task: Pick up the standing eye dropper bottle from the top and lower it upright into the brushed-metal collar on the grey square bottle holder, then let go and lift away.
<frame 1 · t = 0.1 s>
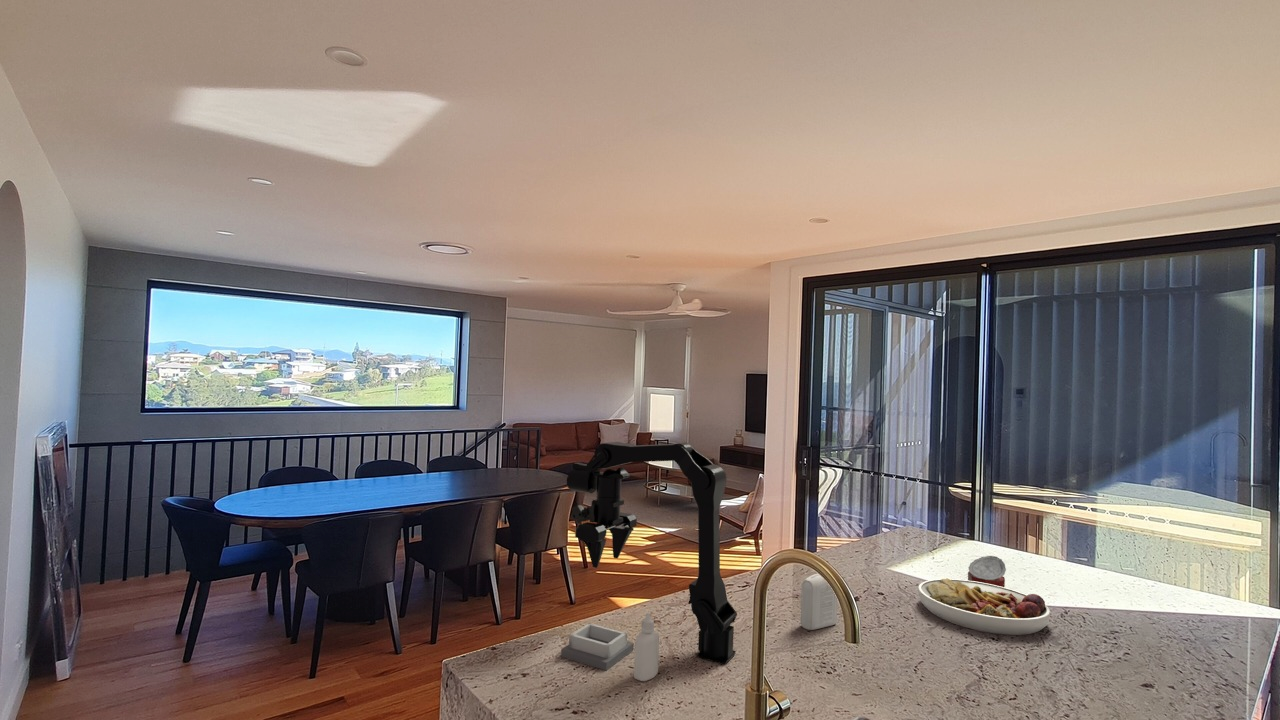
hand: (605, 562, 142), 15 cm above the counter, tool pointing down, fingers open, 9 cm apart
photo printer: (818, 626, 147), on the counter
grey square bottle holder: (597, 653, 127), on the counter
eye dropper bottle: (645, 676, 118), on the counter
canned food: (986, 585, 185), on the counter
bowl: (980, 617, 159), on the counter
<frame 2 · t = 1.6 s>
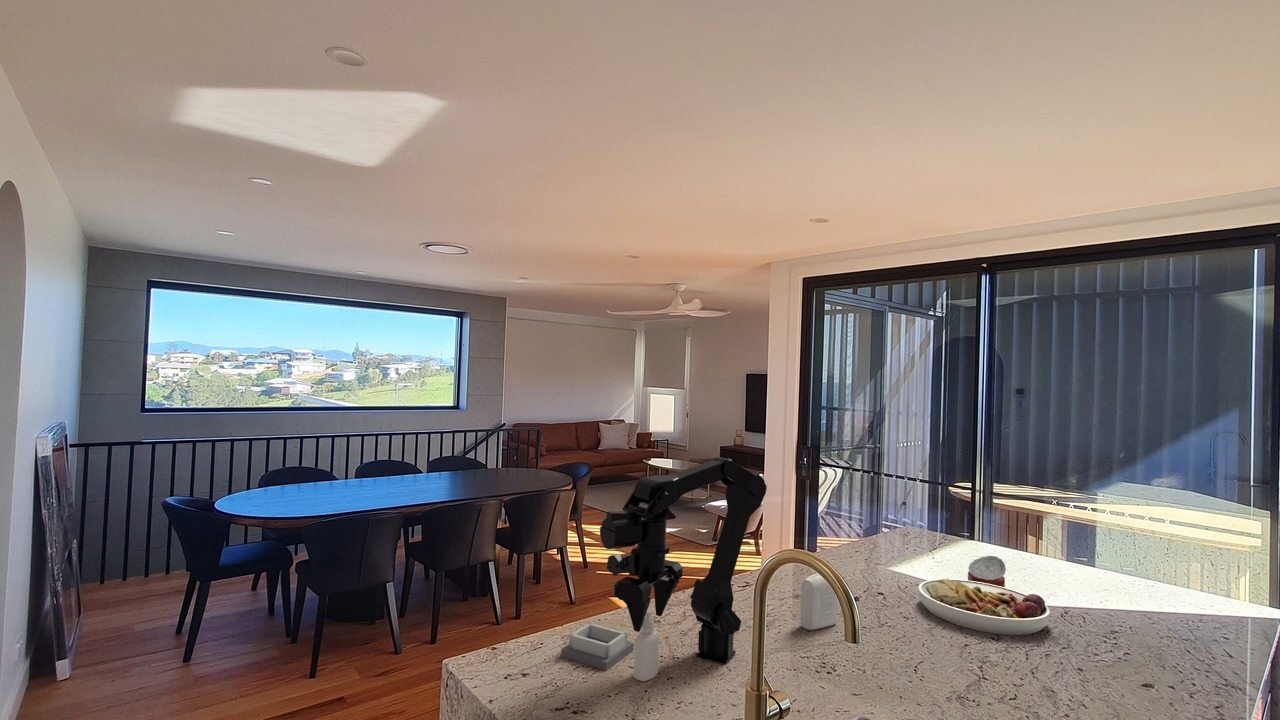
hand: (648, 623, 119), 10 cm above the counter, tool pointing down, fingers open, 9 cm apart
nothing on the counter moved.
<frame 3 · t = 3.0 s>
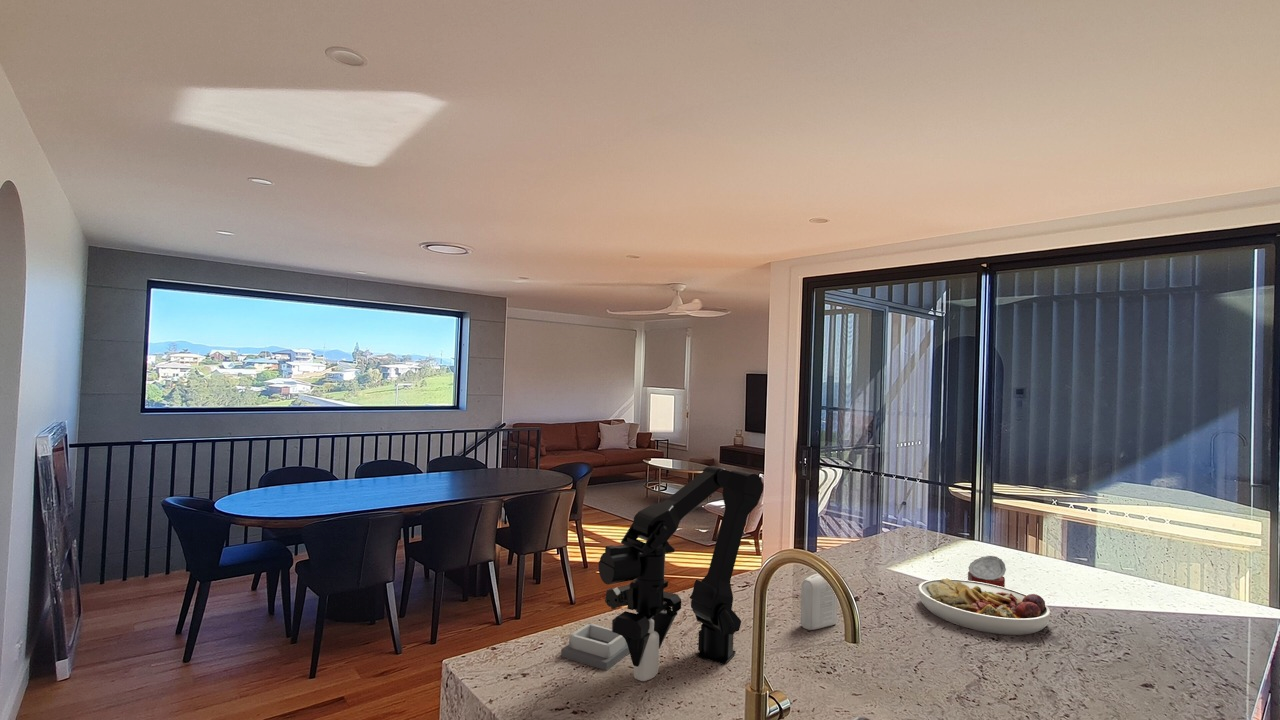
hand: (646, 657, 118), 4 cm above the counter, tool pointing down, fingers closed on eye dropper bottle, 8 cm apart
eye dropper bottle: (645, 676, 118), on the counter, touching gripper
everything else where it was.
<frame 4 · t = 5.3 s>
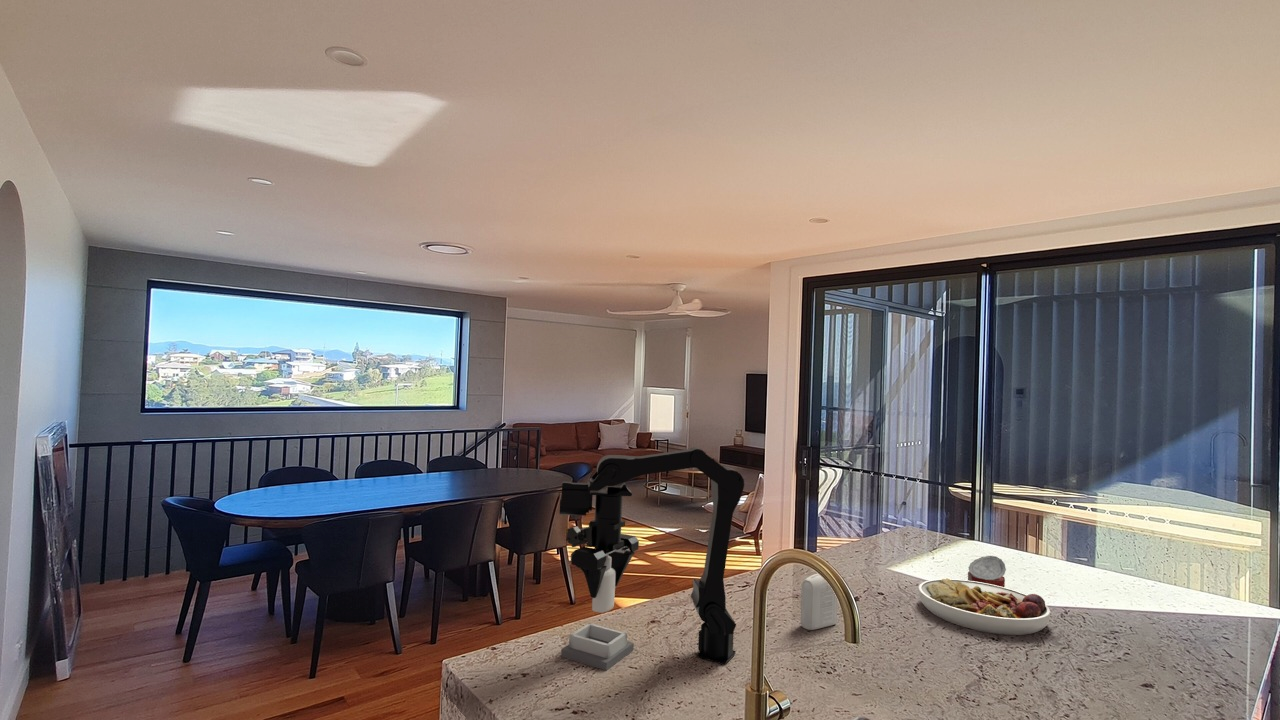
hand: (604, 591, 126), 13 cm above the counter, tool pointing down, fingers closed on eye dropper bottle, 8 cm apart
eye dropper bottle: (603, 609, 126), point 9 cm above the counter, touching gripper
everything else where it was.
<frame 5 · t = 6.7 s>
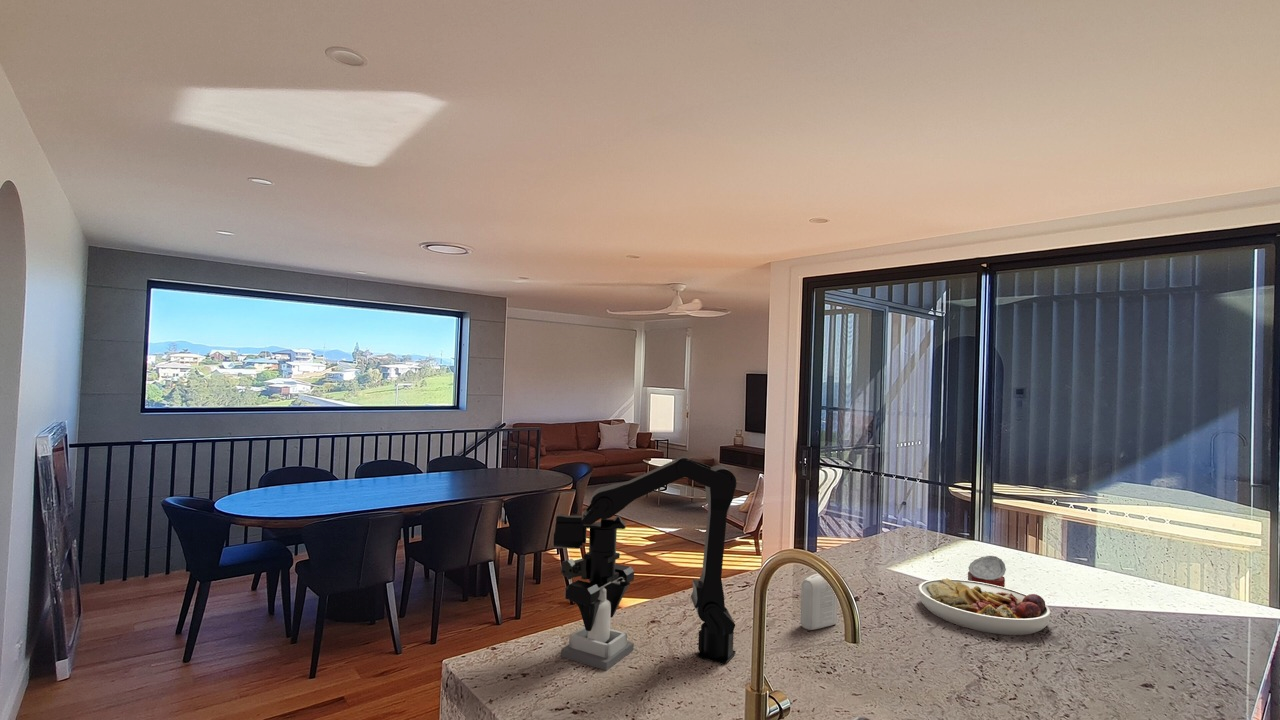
hand: (599, 623, 127), 6 cm above the counter, tool pointing down, fingers closed on eye dropper bottle, 8 cm apart
eye dropper bottle: (598, 641, 127), point 2 cm above the counter, touching gripper
everything else where it was.
when the fingers open (6 cm above the counter, at t = 7.9 s): eye dropper bottle stays where it is, resting on grey square bottle holder.
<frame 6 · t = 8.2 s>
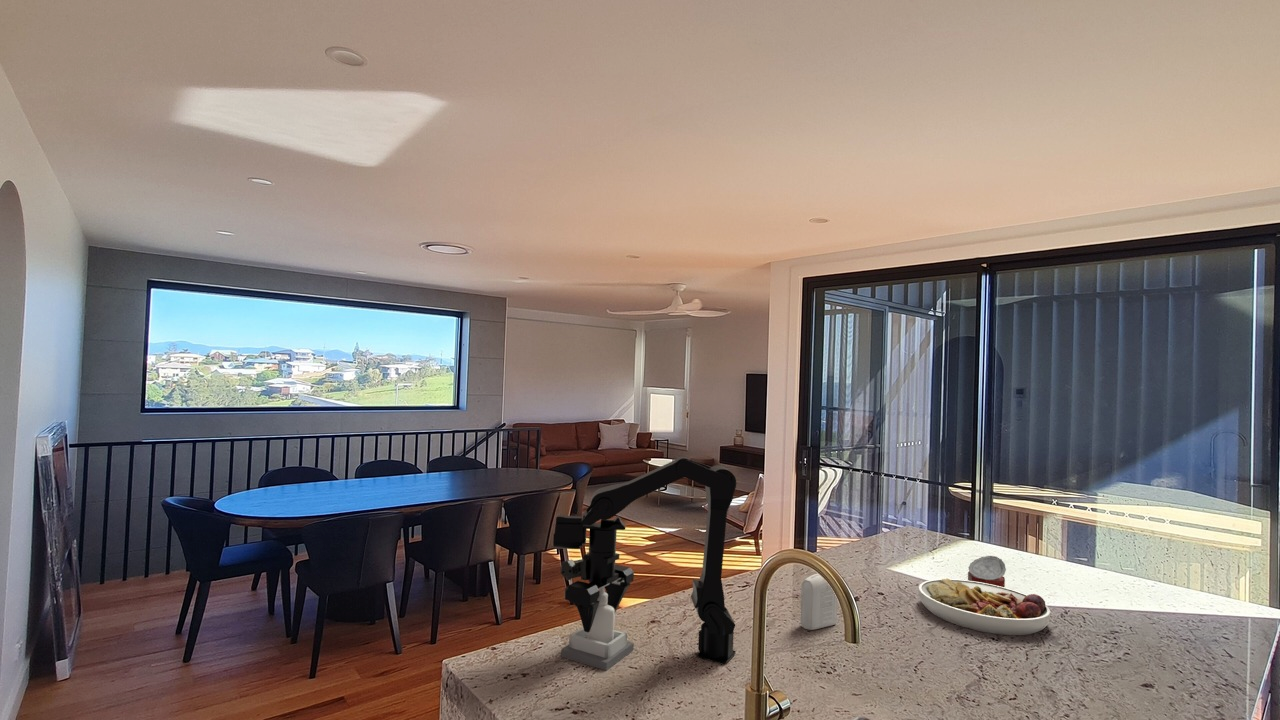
hand: (599, 624, 127), 6 cm above the counter, tool pointing down, fingers open, 9 cm apart
eye dropper bottle: (599, 646, 127), point 1 cm above the counter, touching grey square bottle holder
everything else where it was.
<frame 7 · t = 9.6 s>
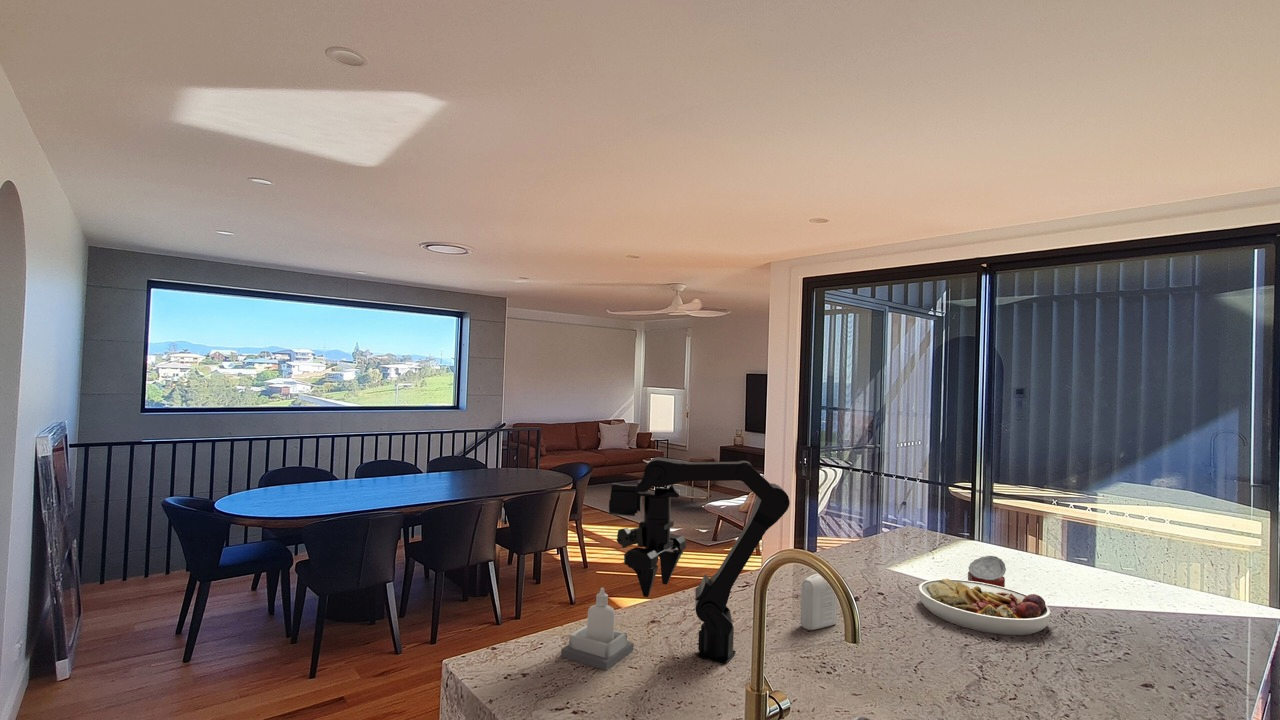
hand: (655, 590, 130), 13 cm above the counter, tool pointing down, fingers open, 9 cm apart
nothing on the counter moved.
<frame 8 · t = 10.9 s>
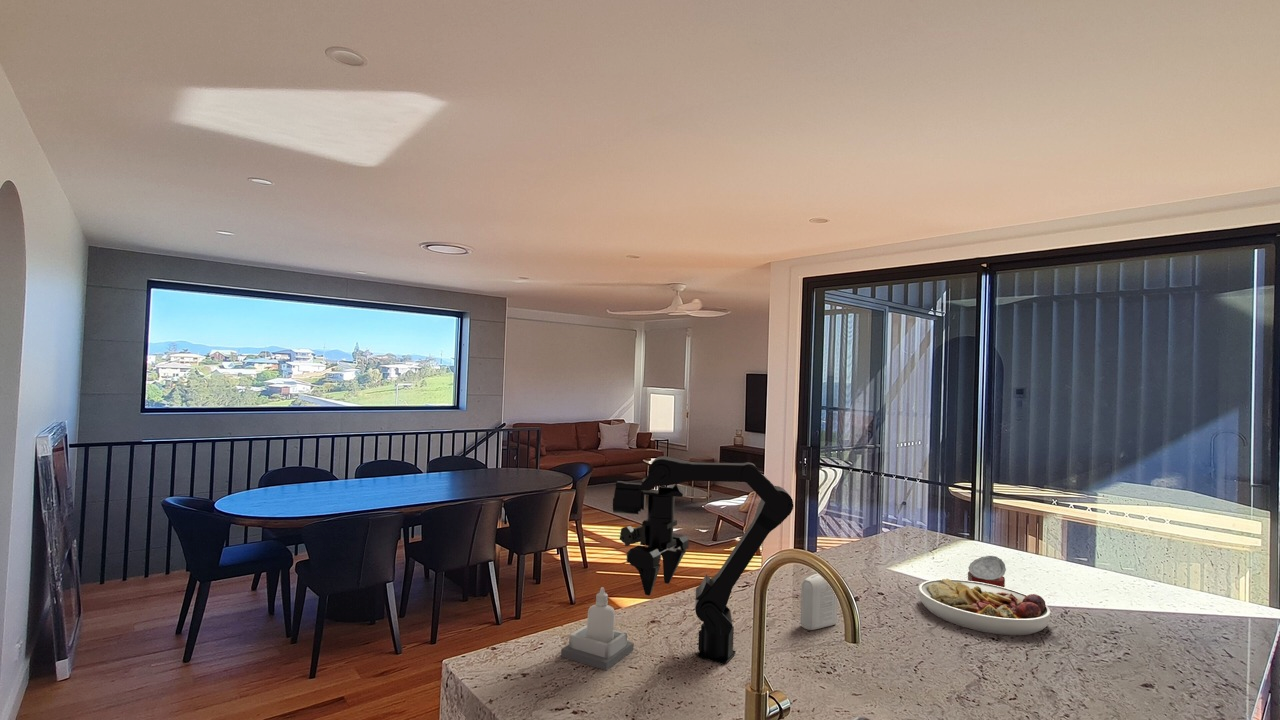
hand: (657, 589, 130), 13 cm above the counter, tool pointing down, fingers open, 9 cm apart
nothing on the counter moved.
at the end: eye dropper bottle 0.4 cm off-centre on the grey square bottle holder, point 1.3 cm above the grey square bottle holder's base; eye dropper bottle tilted 0°; the gripper is holding nothing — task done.
